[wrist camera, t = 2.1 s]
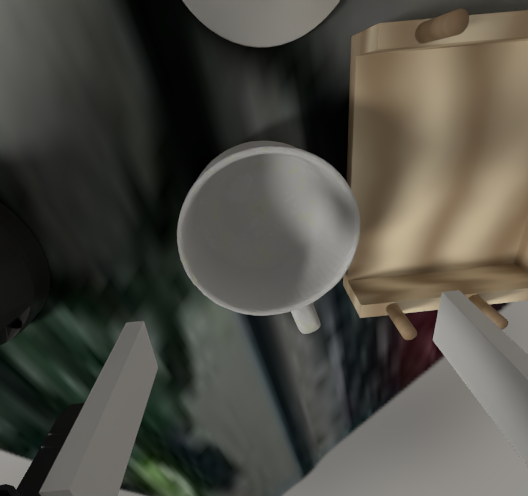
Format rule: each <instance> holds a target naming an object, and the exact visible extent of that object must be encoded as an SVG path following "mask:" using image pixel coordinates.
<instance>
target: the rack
mask: <svg viewBox="0 0 528 496" xmlns="http://www.w3.org/2000/svg"><path fill="white" fill-rule="evenodd" d="M347 183H348V185H349V187H350V188H351V190H352V192H353V194H354V196H355V199H356V201H357V204H358V209H359V215H360V234H359V243H358V247H357V250H356V253H355V256H354V258H353V261H352V263H351V265H350V267H349V268H348V270H347V271H346V273H345V274H344V277H343V285H344V287H345V289H346V291H347V293H348V295H349V297H350V299H351V301H352V303H353V305H354V307H355V309H356V311H357V312H358V314H359V316H360V318H363V317H373V316H382V315H389V316H390V318H391V319H392V321H393V322H394V324H395V325H396V327H397V329H398V330H399V332H400V333H401V335H402V336H403V338H404V339H406V340H411V339H413V338H415V337H416V335H417V331H416V330H415V328H414V327H413V325H412V324H411V323H410V321H409V320H408V318H407V317H406V316H405V314H404V313H411V312H421V311H430V310H439V305H440V299H441V294H442V292H446V291H456V290H459V291H461V292H462V293H463V294H464V295H465V296H466V297H467V298H468V299H469V300H470V301H471V302H472V303H473V304H474V305H476V306H477V307H478V308H479V309H480V310H481V311H482V312H483V313H484V314H485V315H486V316H487V317H488V318H489V319H491V320H492V321H493V322H494V323H495V324H496V325H497V326H498V327H499V328H500V329H501V330H502V329H504V328H505V327H507V325H508V321H507V320H506V319H505V318H504V317H503V316H502V315H501V314H499V313H498V312H497V311H496V310H495V309H494V308H493V307H491V306H490V305H489V304H497V303H506V302H516V301H525V300H528V10H523V11H511V12H500V13H489V14H477V15H469V14H468V12H467V11H466V10H465V9H457V10H454V11H451V12H449V13H446V14H443V15H441V16H438V17H435V18H432V19H420V20H409V21H397V22H386V23H378V24H376V25H374V26H372V27H370V28H368V29H366V30H364V31H362V32H360V33H357V34H355V35H353V36H351V63H350V94H349V124H348V155H347Z"/></svg>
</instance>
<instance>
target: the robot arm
mask: <svg viewBox="0 0 528 496" xmlns="http://www.w3.org/2000/svg"><path fill="white" fill-rule="evenodd" d="M49 290H50V272H49V267H48V263H47V260H46V257H45V255H44V252H43V250H42V248H41V246H40V245H39V243H38V241H37V240H36V238H35V236H34V235H33V234H32V232H31V231H30V230H29V228H28V227H27V226H26V225H25V224H24V223H23V222H22V221H21V220H20V218H19V217H18V216H16V215H15V214H14V213H13V212H12V211H11V210H10V209H9V208H7V207H6V206H5V205H4V204H2V203H1V202H0V346H1V345H2V344H4V343H6V342H8V341H10V340H11V339H13V338H14V337H15V336H17V335H18V334H19V333H20V332H22V331H23V330H24V329H25V328H26V327H27V326H28V325H29V323H30V322H31V321H32V320H33V319H34V318H35V317H36V316H37V315H38V313H39V312H40V311H41V310H42V308H43V307H44V305H45V303H46V301H47V298H48V295H49ZM433 341H434V343H435V344H436V345H437V347H438V348H439V349H440V351H441V352H442V353H443V355H444V356H445V357H446V359H447V360H448V361H449V362H450V364H451V365H452V366H453V368H454V369H455V371H456V372H457V373H458V374H459V376H460V377H461V378H462V380H463V381H464V382H465V384H466V385H467V387H468V388H469V389H470V391H471V392H472V393H473V395H474V396H475V397H476V399H478V401H479V402H480V404H481V405H482V406H483V408H484V409H485V411H486V412H487V413H488V415H489V416H490V417H491V419H492V420H493V421H494V423H495V424H496V425H497V426H498V428H499V429H500V431H501V432H502V433H503V435H504V436H505V437H506V439H507V440H508V441H509V443H510V444H511V445H512V447H513V448H514V449H515V451H516V452H517V453H518V455H519V456H520V457H521V458H522V460H523V461H524V463H525V464H526V465H527V466H528V354H527V353H526V352H525V351H524V350H523V349H521V348H520V347H519V346H518V345H517V344H516V343H515V342H514V341H513V340H512V339H511V338H510V337H509V336H508V335H506V334H505V333H504V332H503V331H502V330H501V329H500V328H499V327H498V326H497V325H496V324H495V323H494V322H493V321H492V320H491V319H489V318H488V317H487V316H486V315H485V314H484V313H483V312H482V311H481V310H480V309H479V308H478V307H477V306H476V305H474V304H473V303H472V302H471V301H470V300H469V299H468V298H467V297H466V296H465V295H464V294H463V293H462V292H461V291H459V290H456V291H446V292H442V294H441V299H440V305H439V310H438V315H437V320H436V325H435V331H434V336H433ZM157 369H158V365H157V362H156V359H155V356H154V352H153V349H152V346H151V343H150V339H149V336H148V333H147V330H146V326H145V323H144V321H139V322H129V323H126V324H125V326H124V328H123V330H122V332H121V334H120V336H119V338H118V340H117V342H116V344H115V346H114V348H113V350H112V351H111V353H110V355H109V357H108V359H107V361H106V363H105V365H104V367H103V369H102V371H101V373H100V375H99V377H98V379H97V381H96V383H95V384H94V386H93V388H92V390H91V392H90V394H89V396H88V398H87V400H86V402H85V403H81V404H71V405H70V406H69V407H68V408H67V409H66V410H65V411H64V412H63V413H62V414H61V415H60V416H59V417H58V418H57V420H56V422H55V423H54V425H53V427H52V429H51V430H50V432H49V436H48V437H46V439H45V441H44V443H43V444H42V446H41V450H39V451H38V453H37V455H36V456H35V458H34V460H33V462H32V463H31V466H30V467H29V469H28V470H27V472H26V474H25V476H24V477H23V479H22V481H21V483H20V484H19V486H18V488H17V489H15V488H14V486H10V485H7V484H5V485H0V496H117V495H118V492H119V489H120V486H121V483H122V480H123V477H124V473H125V470H126V467H127V464H128V461H129V458H130V454H131V451H132V448H133V445H134V442H135V439H136V435H137V432H138V429H139V426H140V423H141V420H142V417H143V413H144V410H145V407H146V404H147V401H148V398H149V394H150V391H151V388H152V385H153V382H154V379H155V376H156V372H157Z"/></svg>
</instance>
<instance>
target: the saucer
mask: <svg viewBox="0 0 528 496" xmlns="http://www.w3.org/2000/svg"><path fill="white" fill-rule="evenodd" d="M182 1H183V2H184V3H185V5H186V6H187V7H188V9H189V10H190V11H191V12H192V13H193V14H194V16H195V17H196V18H197V19H198V20H199V21H200V22H201V23H203V24H204V25H205V26H206V27H207V28H208V29H210V30H211V31H213V32H214V33H216V34H217V35H219V36H220V37H222V38H224V39H227V40H229V41H231V42H233V43H237V44H240V45H243V46H249V47H256V48H262V47H274V46H280V45H283V44H286V43H289V42H292V41H294V40H296V39H298V38H300V37H302V36H304V35H305V34H307V33H308V32H310V31H311V30H312V29H314V28H315V27H316V26H317V25H318V24H320V23H321V22H322V21H323V20H324V19H325V18H326V17H327V16H328V15H329V14H330V13H331V11H332V10H333V9H334V8H335V7H336V5H337V4H338V3H339V1H340V0H182Z"/></svg>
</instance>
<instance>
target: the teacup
mask: <svg viewBox="0 0 528 496" xmlns="http://www.w3.org/2000/svg"><path fill="white" fill-rule="evenodd" d="M359 234H360V215H359V209H358V204H357V201H356V199H355V196H354V194H353V192H352V190H351V188H350V187H349V185H348V183H347V182H346V180H345V179H344V178H343V176H342V175H341V174H340V173H339V172H338V171H337V170H336V169H335V168H334V167H333V166H332V165H331V164H329V163H328V162H326V161H325V160H324V159H322V158H320V157H318V156H316V155H315V154H313V153H310V152H307V151H305V150H303V149H298V148H296V147H294V146H291V145H288V144H285V143H281V142H275V141H252V142H246V143H243V144H240V145H237V146H234V147H232V148H230V149H228V150H226V151H224V152H223V153H221V154H220V155H219V156H217V157H216V158H215V159H213V160H212V161H211V162H210V163H209V164H208V165H207V167H206V168H205V169H204V170H203V171H202V173H201V174H200V176H199V177H198V179H197V180H196V182H195V183H194V184H193V186H192V187H191V189H190V191H189V192H188V194H187V196H186V198H185V201H184V203H183V206H182V209H181V212H180V215H179V220H178V227H177V244H178V250H179V255H180V259H181V262H182V263H183V266H184V269H185V271H186V273H187V275H188V277H189V278H190V279H191V280H192V282H193V284H194V285H196V286H197V287H198V289H199V290H201V292H202V293H203V294H204V295H205V296H207V297H208V298H209V299H211V300H212V301H213V302H215V303H216V304H218V305H220V306H222V307H225V308H227V309H229V310H232V311H235V312H238V313H242V314H250V315H274V314H281V313H285V312H290V311H291V313H292V315H293V317H294V320H295V322H296V324H297V327H298V328H299V330H300V331H301V332H302V333H303V334H307V333H311V332H314V331H316V330H318V329H319V327H320V325H321V324H320V320H319V318H318V315H317V313H316V310H315V307H314V305H313V303H312V302H314V301H315V300H317V299H319V298H320V297H321V296H323V295H324V294H325V293H326V292H328V291H329V290H330V289H332V288H333V287H334V286H335V285H336V284H337V283H338V282H339V281H340V279H341V278H342V277H343V276H344V274H345V273H346V271H347V270H348V268H349V267H350V265H351V263H352V261H353V258H354V256H355V253H356V250H357V247H358V243H359Z"/></svg>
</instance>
